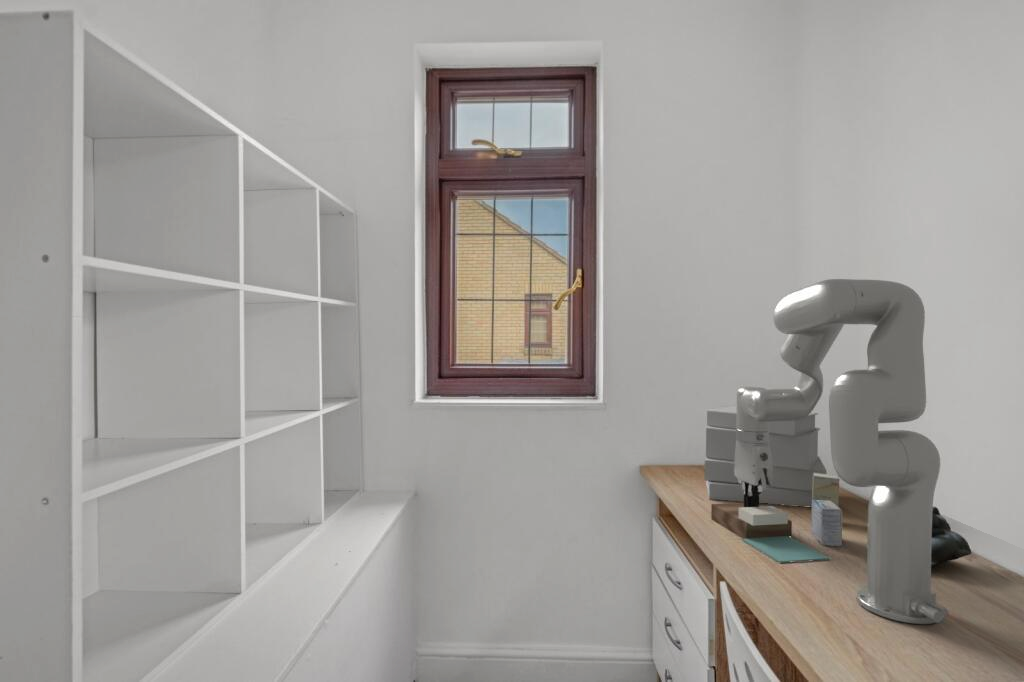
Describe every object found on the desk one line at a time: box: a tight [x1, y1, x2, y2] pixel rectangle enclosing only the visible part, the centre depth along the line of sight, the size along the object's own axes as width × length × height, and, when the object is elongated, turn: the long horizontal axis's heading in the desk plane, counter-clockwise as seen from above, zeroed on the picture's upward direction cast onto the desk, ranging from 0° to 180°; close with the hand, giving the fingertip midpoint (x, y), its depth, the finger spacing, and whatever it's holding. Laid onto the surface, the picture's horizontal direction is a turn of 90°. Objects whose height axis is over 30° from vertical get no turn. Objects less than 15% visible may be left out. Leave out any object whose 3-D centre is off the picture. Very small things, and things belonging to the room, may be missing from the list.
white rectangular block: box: [739, 505, 789, 526], centre depth 140 cm, size 6×9×2 cm, turn 100°
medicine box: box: [811, 500, 843, 547], centre depth 138 cm, size 8×4×9 cm, turn 168°
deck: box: [710, 502, 793, 539], centre depth 147 cm, size 16×12×4 cm
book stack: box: [703, 404, 827, 508], centre depth 179 cm, size 30×35×26 cm
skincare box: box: [811, 473, 840, 521], centre depth 153 cm, size 6×4×12 cm
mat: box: [741, 536, 830, 564], centre depth 132 cm, size 14×12×1 cm
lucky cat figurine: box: [931, 505, 972, 567], centre depth 126 cm, size 15×12×14 cm
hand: (751, 510), depth 145 cm, fingers closed
